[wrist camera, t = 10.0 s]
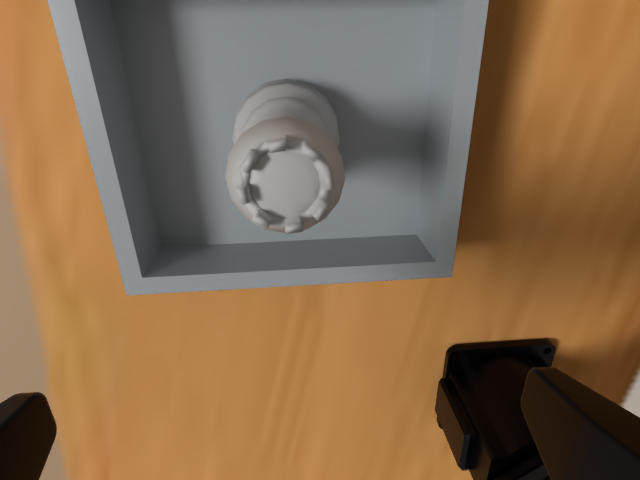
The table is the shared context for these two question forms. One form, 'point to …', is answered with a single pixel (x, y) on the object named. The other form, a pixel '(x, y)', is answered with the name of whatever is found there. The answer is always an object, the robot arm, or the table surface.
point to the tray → (218, 122)
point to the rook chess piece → (285, 157)
